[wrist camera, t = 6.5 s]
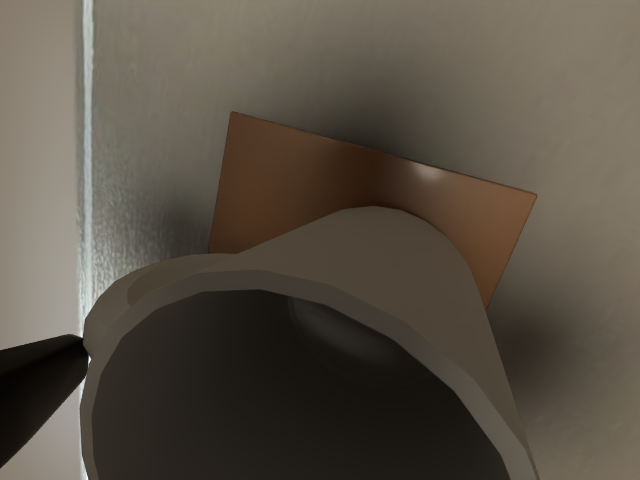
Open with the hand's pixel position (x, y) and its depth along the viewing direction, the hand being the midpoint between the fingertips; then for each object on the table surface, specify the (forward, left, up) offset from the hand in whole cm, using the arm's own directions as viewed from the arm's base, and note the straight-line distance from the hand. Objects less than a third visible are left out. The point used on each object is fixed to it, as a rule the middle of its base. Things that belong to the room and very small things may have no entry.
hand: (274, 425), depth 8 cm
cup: (0, 0, -7) cm, 7 cm away
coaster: (0, 0, -8) cm, 8 cm away
